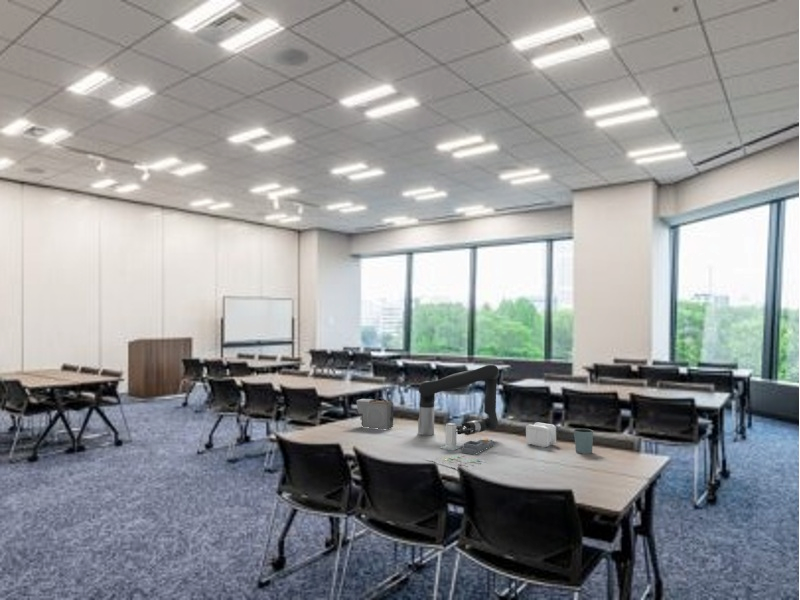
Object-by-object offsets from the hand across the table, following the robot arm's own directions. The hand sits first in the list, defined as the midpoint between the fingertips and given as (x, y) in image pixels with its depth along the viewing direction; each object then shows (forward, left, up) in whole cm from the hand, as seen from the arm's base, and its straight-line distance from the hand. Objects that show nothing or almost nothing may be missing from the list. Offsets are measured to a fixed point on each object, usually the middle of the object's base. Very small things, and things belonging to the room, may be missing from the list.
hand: (452, 431), depth 308 cm
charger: (0, -1, -8) cm, 9 cm away
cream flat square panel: (+19, -22, -10) cm, 31 cm away
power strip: (+14, +8, -9) cm, 18 cm away
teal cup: (+65, +31, -9) cm, 72 cm away
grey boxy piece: (-69, +21, -9) cm, 73 cm away
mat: (0, -1, -9) cm, 9 cm away
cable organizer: (+40, +35, -9) cm, 54 cm away
